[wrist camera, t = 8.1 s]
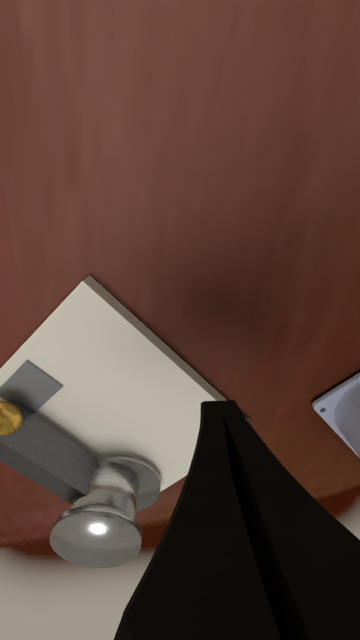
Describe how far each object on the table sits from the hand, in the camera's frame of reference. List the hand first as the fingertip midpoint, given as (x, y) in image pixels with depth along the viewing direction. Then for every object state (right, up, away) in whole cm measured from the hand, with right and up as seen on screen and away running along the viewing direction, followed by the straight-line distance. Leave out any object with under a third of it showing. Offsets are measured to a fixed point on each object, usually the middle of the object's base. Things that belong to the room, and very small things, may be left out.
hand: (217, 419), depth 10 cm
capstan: (-10, -7, +11) cm, 17 cm away
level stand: (-8, -5, +12) cm, 15 cm away
